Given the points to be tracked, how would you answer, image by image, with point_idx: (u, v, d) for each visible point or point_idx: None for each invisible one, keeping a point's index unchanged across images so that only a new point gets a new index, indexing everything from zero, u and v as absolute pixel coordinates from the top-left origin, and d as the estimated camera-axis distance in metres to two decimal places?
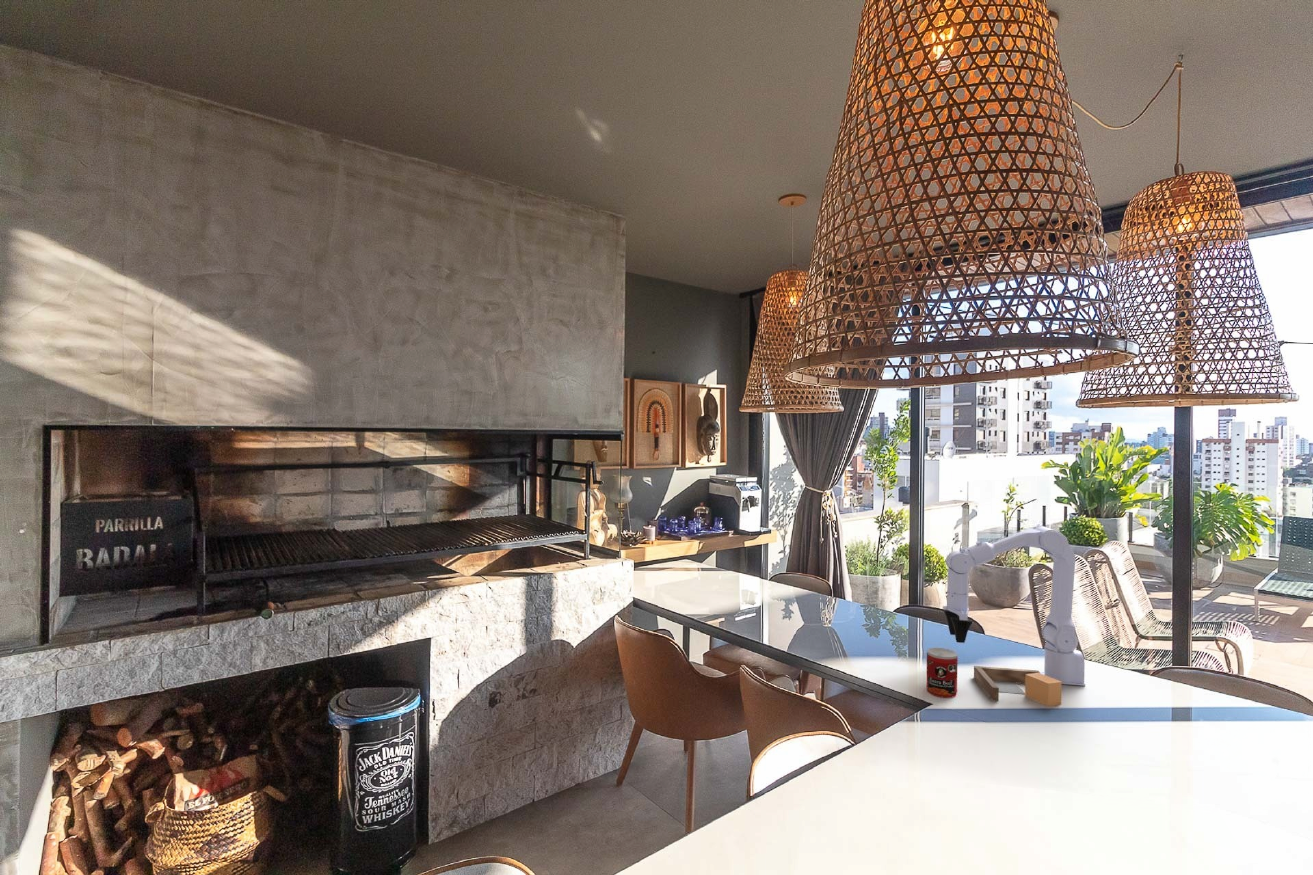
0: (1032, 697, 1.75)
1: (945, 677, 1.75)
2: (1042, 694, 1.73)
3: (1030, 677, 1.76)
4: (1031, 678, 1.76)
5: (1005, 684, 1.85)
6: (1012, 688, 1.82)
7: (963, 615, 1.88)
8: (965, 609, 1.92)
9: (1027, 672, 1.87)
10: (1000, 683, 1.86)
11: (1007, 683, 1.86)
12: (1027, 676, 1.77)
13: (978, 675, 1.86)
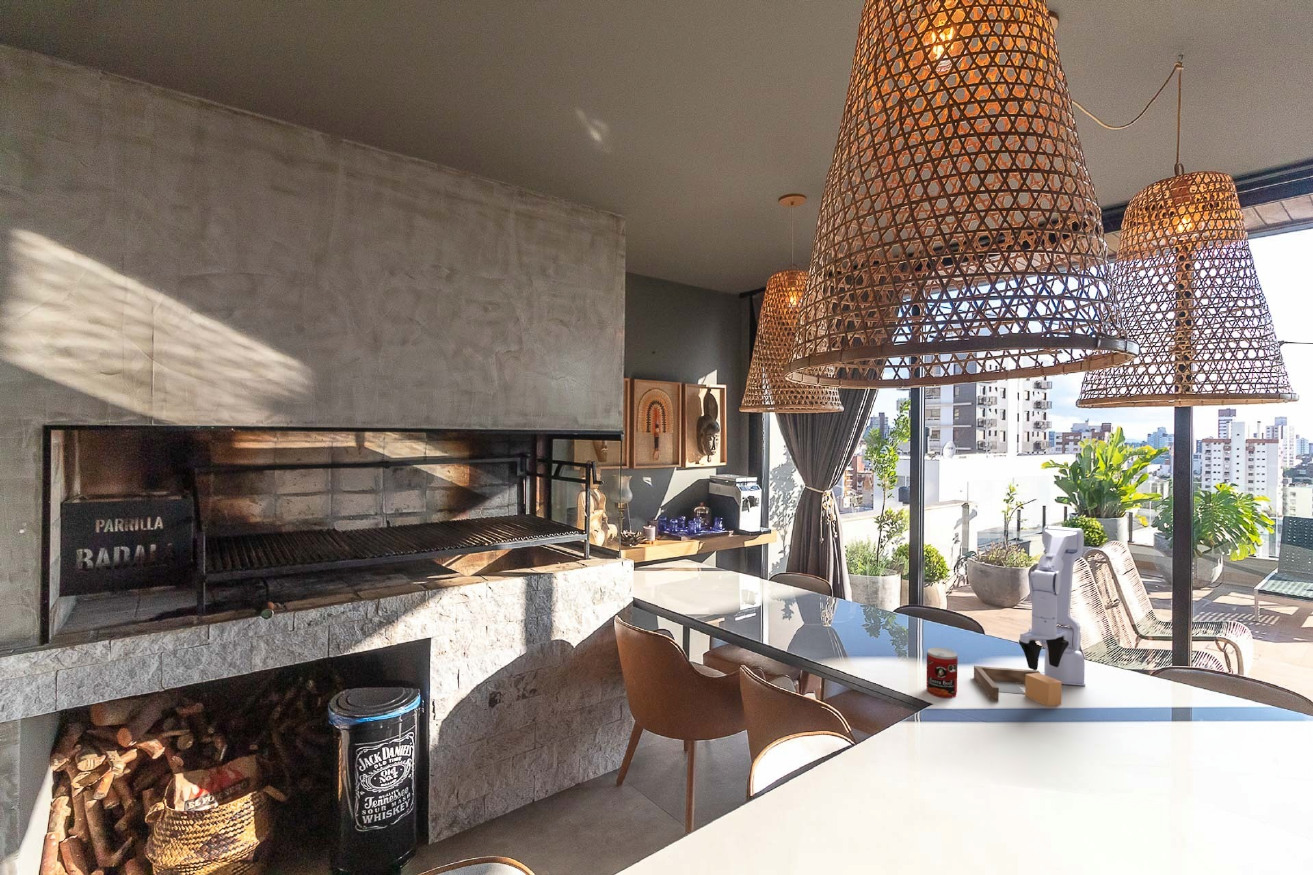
0: (1032, 697, 1.75)
1: (945, 677, 1.75)
2: (1042, 694, 1.73)
3: (1030, 677, 1.76)
4: (1032, 678, 1.76)
5: (1005, 684, 1.85)
6: (1012, 688, 1.82)
7: (1022, 636, 1.73)
8: (1042, 634, 1.73)
9: (1027, 672, 1.87)
10: (1000, 683, 1.86)
11: (1007, 683, 1.86)
12: (1027, 676, 1.77)
13: (978, 675, 1.86)
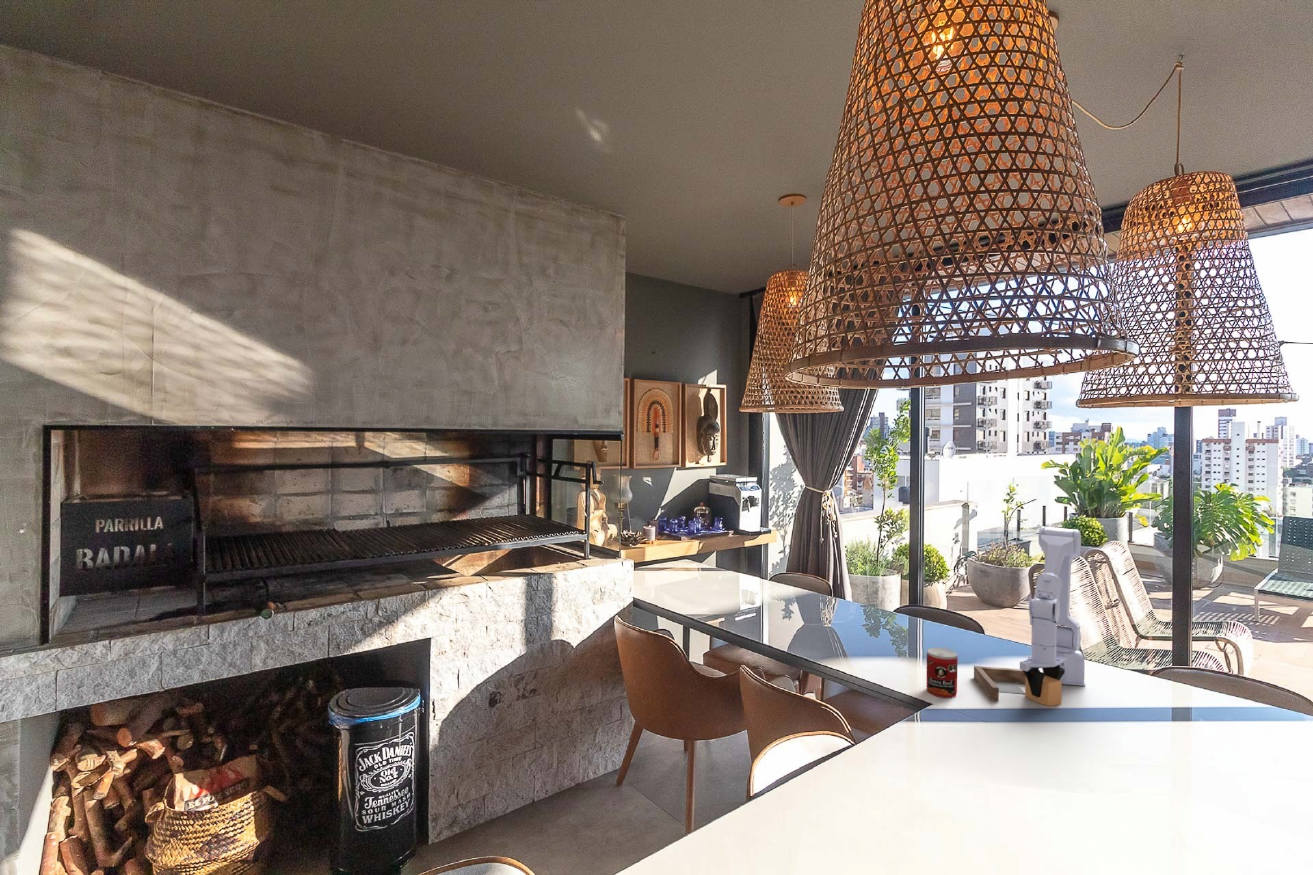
0: (1032, 697, 1.75)
1: (945, 677, 1.75)
2: (1042, 693, 1.73)
3: None
4: None
5: (1005, 684, 1.85)
6: (1012, 688, 1.82)
7: (1022, 664, 1.73)
8: (1041, 662, 1.73)
9: None
10: (1000, 683, 1.86)
11: (1007, 683, 1.86)
12: None
13: (978, 675, 1.86)
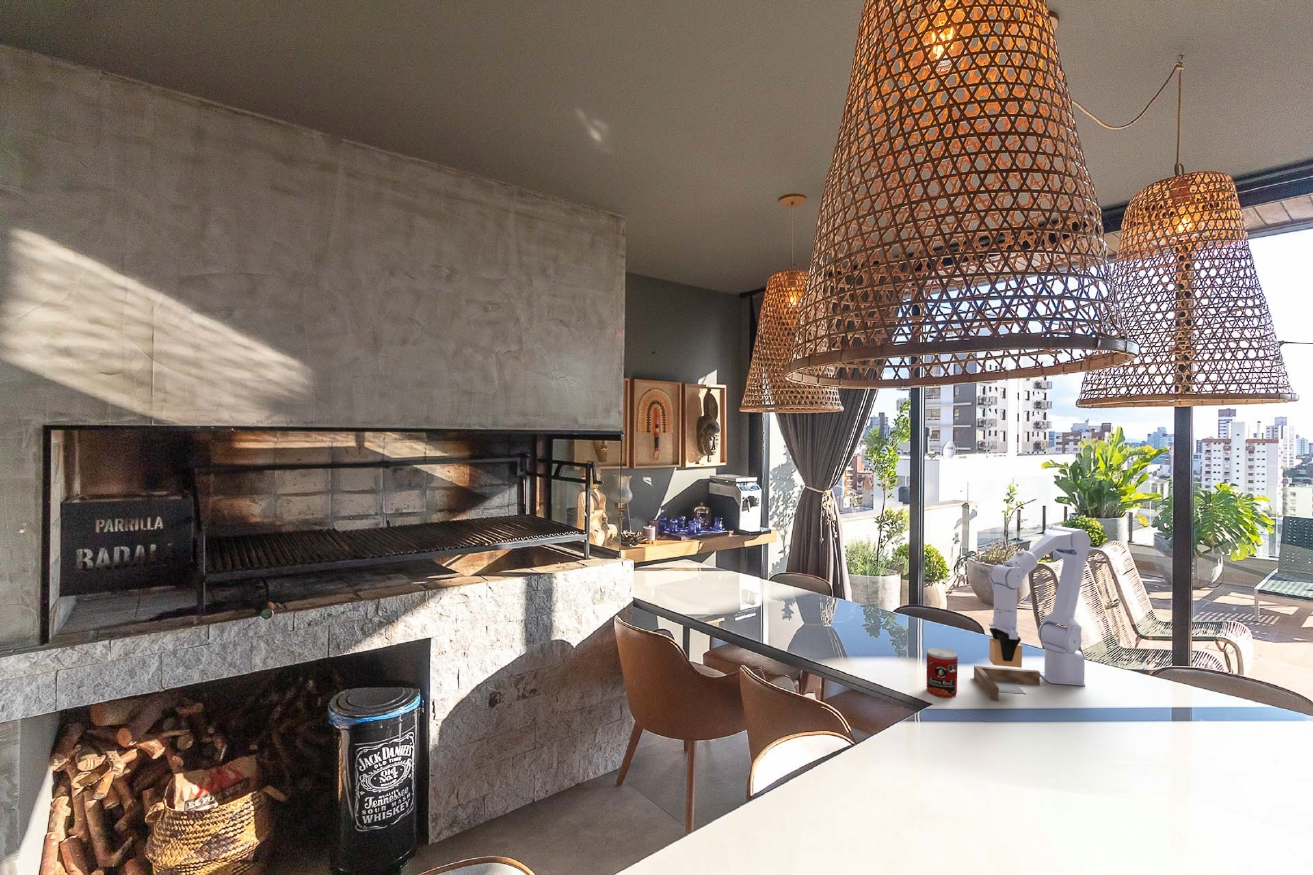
0: (1003, 664, 1.81)
1: (945, 677, 1.75)
2: (1014, 657, 1.80)
3: (1000, 645, 1.81)
4: None
5: (1005, 684, 1.85)
6: (1012, 688, 1.82)
7: (1013, 634, 1.76)
8: (1014, 627, 1.80)
9: (1027, 672, 1.87)
10: (1000, 683, 1.86)
11: (1007, 683, 1.86)
12: (996, 644, 1.81)
13: (978, 675, 1.86)
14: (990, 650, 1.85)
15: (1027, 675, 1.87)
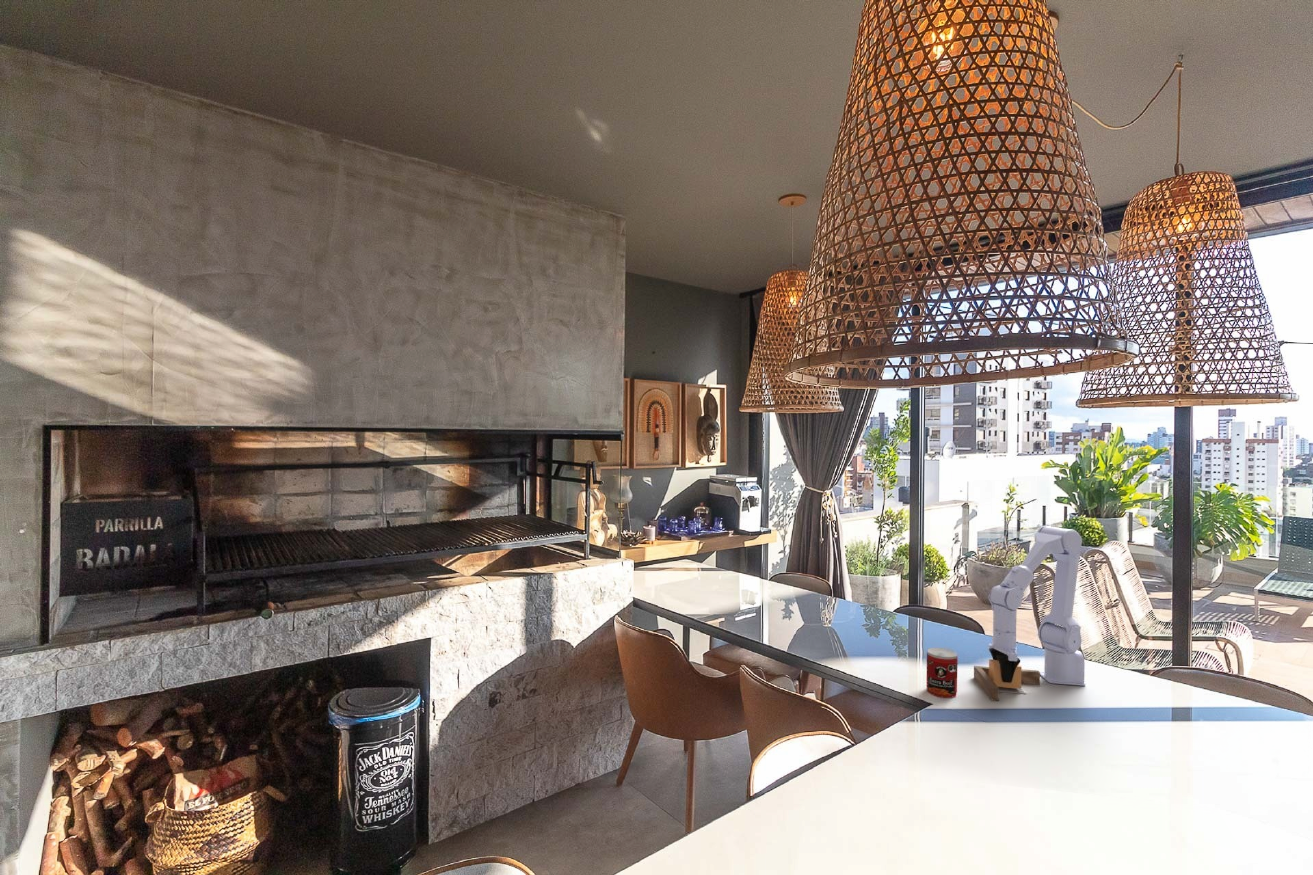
0: (1002, 685, 1.81)
1: (945, 677, 1.75)
2: (1014, 678, 1.81)
3: (999, 666, 1.81)
4: None
5: None
6: (1012, 688, 1.82)
7: (1012, 655, 1.76)
8: (1013, 648, 1.80)
9: (1027, 672, 1.87)
10: None
11: None
12: (996, 666, 1.82)
13: (978, 675, 1.86)
14: (989, 671, 1.85)
15: (1027, 675, 1.87)
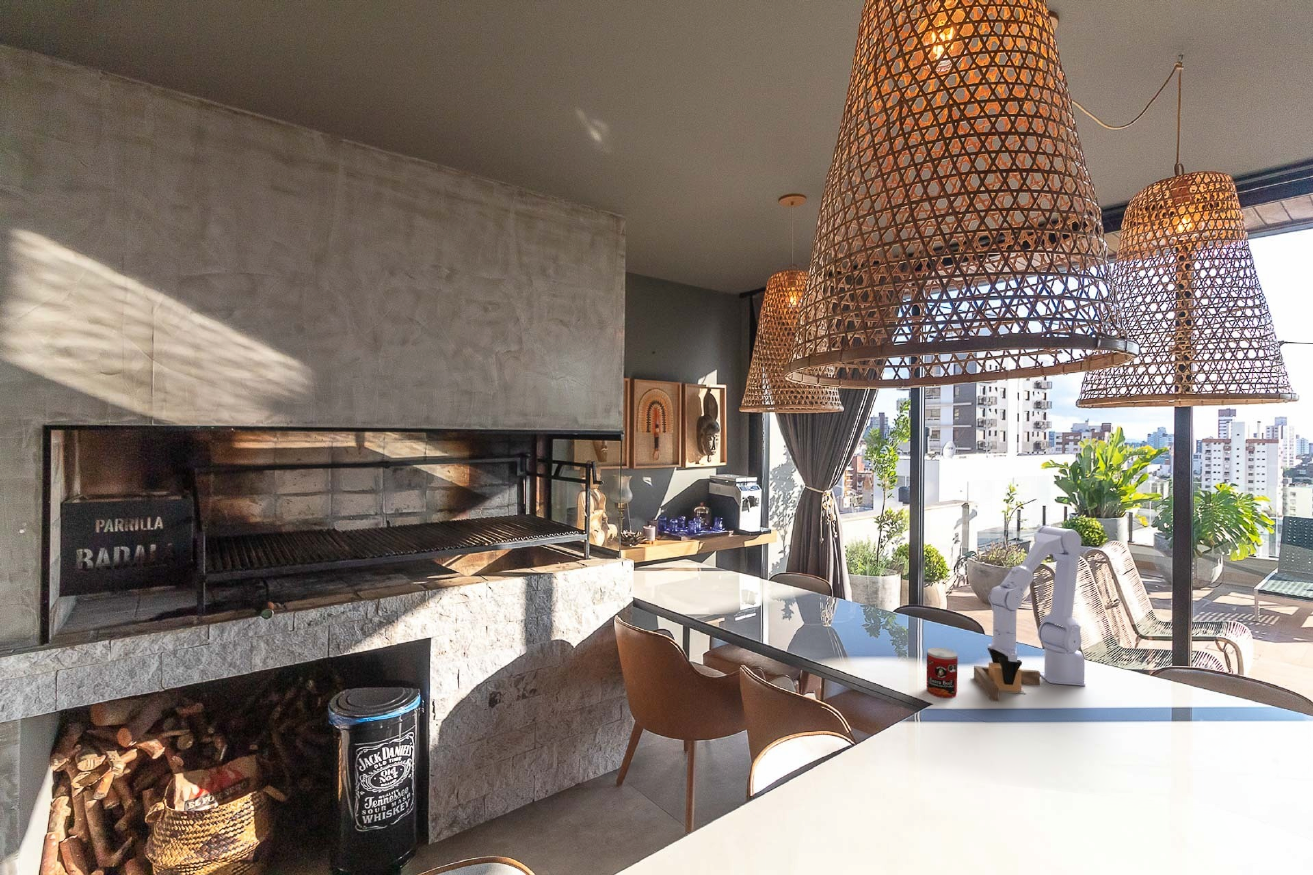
0: (1002, 688, 1.81)
1: (945, 677, 1.75)
2: (1014, 681, 1.81)
3: (999, 669, 1.81)
4: (1001, 669, 1.81)
5: None
6: None
7: (1012, 656, 1.76)
8: (1013, 649, 1.80)
9: (1027, 672, 1.87)
10: None
11: None
12: (996, 669, 1.81)
13: (978, 675, 1.86)
14: (989, 674, 1.85)
15: (1027, 675, 1.87)
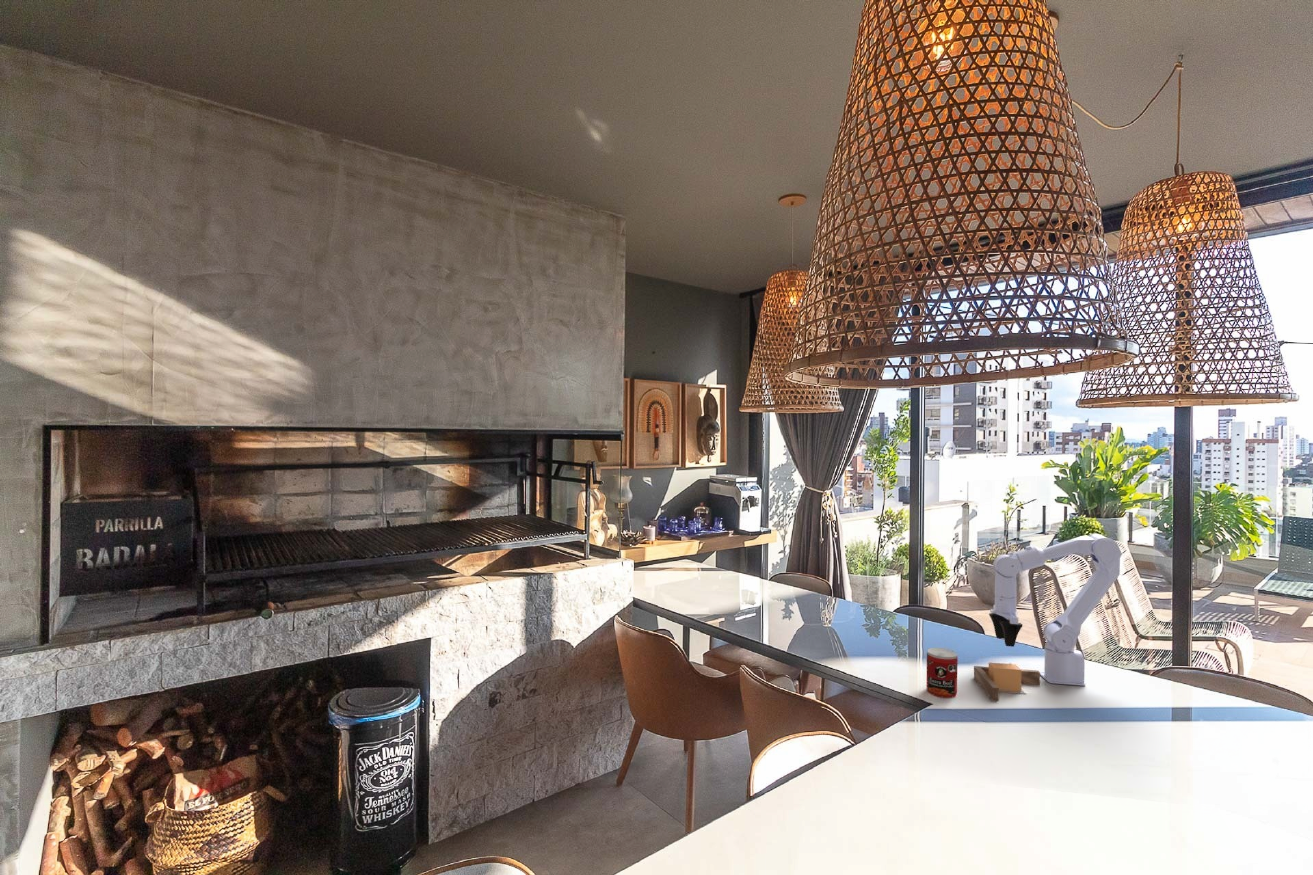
0: (1002, 688, 1.81)
1: (945, 677, 1.75)
2: (1014, 681, 1.81)
3: (999, 669, 1.81)
4: (1001, 669, 1.81)
5: None
6: None
7: (1014, 619, 1.87)
8: (1014, 613, 1.92)
9: (1027, 672, 1.87)
10: None
11: None
12: (996, 669, 1.81)
13: (978, 675, 1.86)
14: (989, 674, 1.85)
15: (1027, 675, 1.87)
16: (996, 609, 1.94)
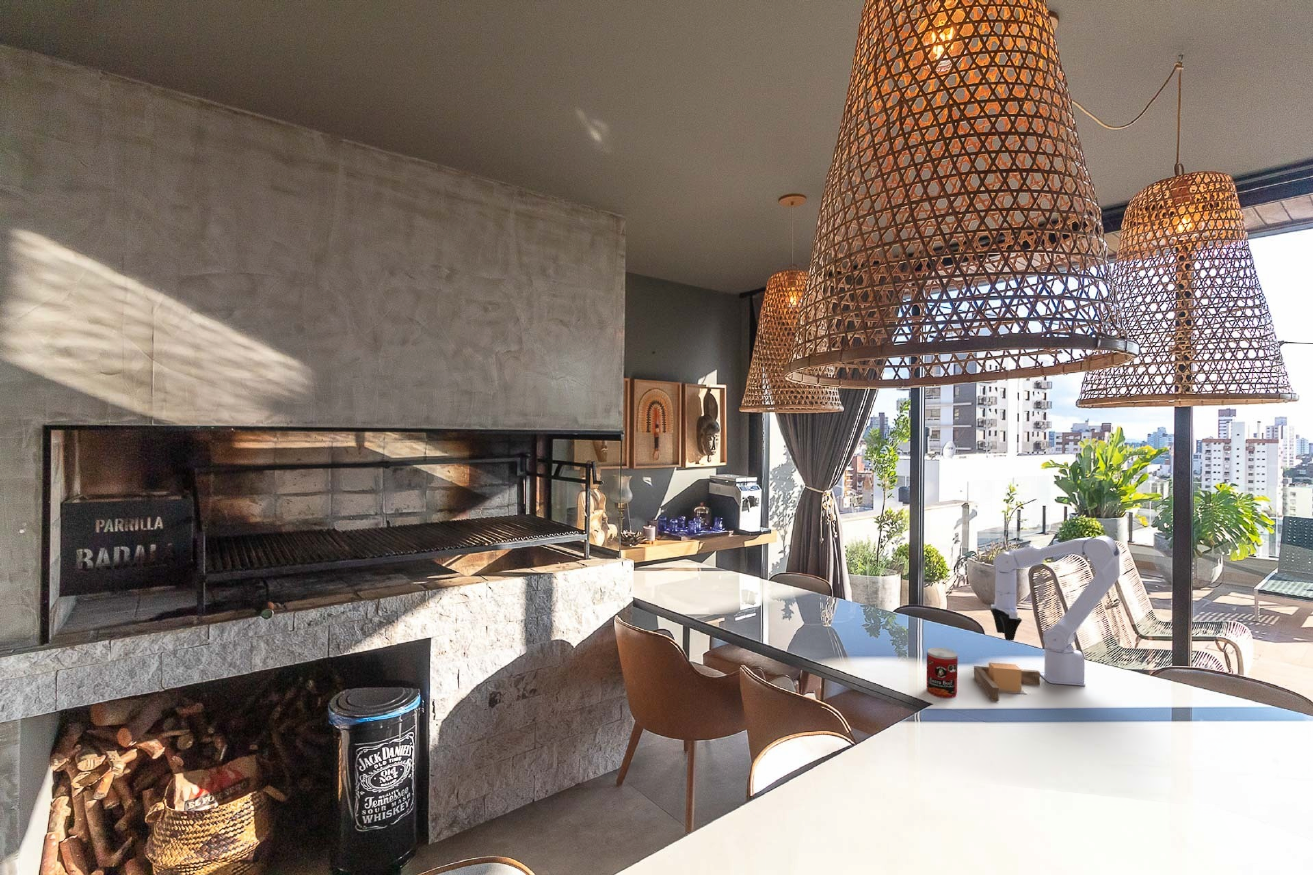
0: (1002, 688, 1.81)
1: (945, 677, 1.75)
2: (1014, 681, 1.81)
3: (999, 669, 1.81)
4: (1001, 669, 1.81)
5: None
6: None
7: (1013, 613, 1.93)
8: (1014, 608, 1.98)
9: (1027, 672, 1.87)
10: None
11: None
12: (996, 669, 1.81)
13: (978, 675, 1.86)
14: (989, 674, 1.85)
15: (1027, 675, 1.87)
16: (996, 604, 2.00)
